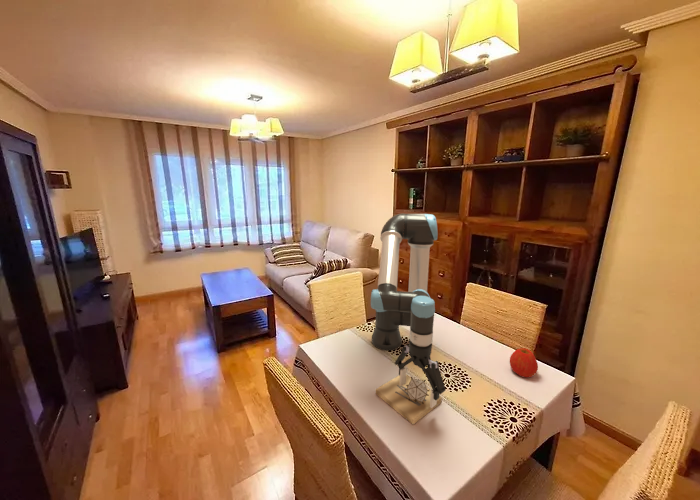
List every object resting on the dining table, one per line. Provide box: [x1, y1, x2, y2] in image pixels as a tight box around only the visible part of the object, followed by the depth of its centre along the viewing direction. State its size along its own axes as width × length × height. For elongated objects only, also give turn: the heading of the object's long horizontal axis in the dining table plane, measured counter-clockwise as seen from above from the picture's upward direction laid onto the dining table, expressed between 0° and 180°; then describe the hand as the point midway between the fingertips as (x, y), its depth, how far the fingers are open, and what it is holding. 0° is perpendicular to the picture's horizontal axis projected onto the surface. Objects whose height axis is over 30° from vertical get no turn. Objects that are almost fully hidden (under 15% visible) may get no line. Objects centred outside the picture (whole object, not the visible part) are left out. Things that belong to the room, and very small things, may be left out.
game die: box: [404, 376, 431, 404], centre depth 100 cm, size 9×8×10 cm
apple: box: [509, 347, 539, 378], centre depth 118 cm, size 10×10×10 cm
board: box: [375, 373, 443, 425], centre depth 105 cm, size 18×16×2 cm
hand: (417, 394), depth 101 cm, fingers open, 13 cm apart
